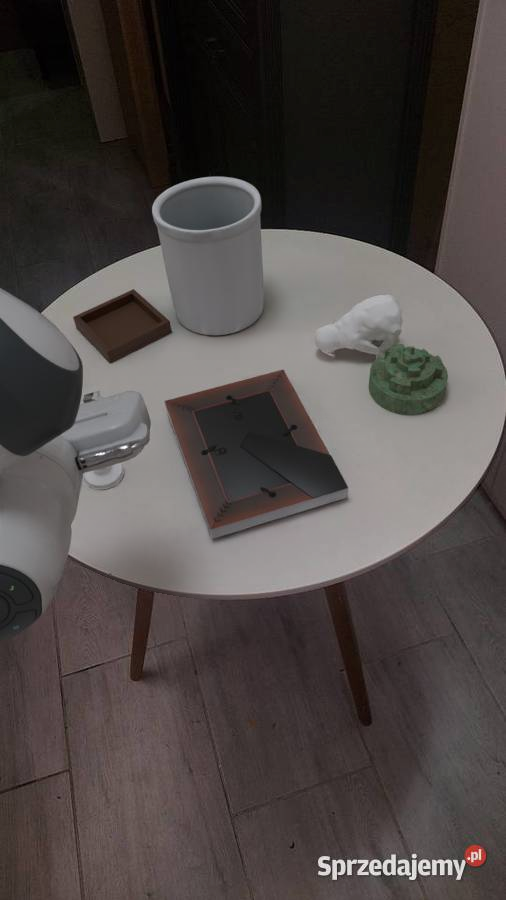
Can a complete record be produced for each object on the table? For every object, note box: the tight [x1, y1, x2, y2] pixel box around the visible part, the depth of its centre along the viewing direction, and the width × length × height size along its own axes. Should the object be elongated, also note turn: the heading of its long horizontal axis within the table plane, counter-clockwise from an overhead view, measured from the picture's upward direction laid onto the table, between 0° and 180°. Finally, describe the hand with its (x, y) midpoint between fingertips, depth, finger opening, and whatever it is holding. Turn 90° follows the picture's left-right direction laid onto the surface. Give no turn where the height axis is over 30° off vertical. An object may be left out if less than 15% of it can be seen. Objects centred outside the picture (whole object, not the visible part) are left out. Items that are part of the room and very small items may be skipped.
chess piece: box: [83, 462, 125, 491], centre depth 81 cm, size 5×5×10 cm
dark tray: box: [72, 288, 173, 364], centre depth 102 cm, size 11×11×2 cm
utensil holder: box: [151, 176, 265, 336], centre depth 99 cm, size 15×15×18 cm
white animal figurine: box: [313, 294, 403, 359], centre depth 94 cm, size 6×8×12 cm
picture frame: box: [164, 369, 349, 540], centre depth 84 cm, size 16×2×22 cm
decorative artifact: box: [368, 343, 449, 415], centre depth 89 cm, size 10×7×10 cm
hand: (48, 412), depth 67 cm, fingers open, 8 cm apart
